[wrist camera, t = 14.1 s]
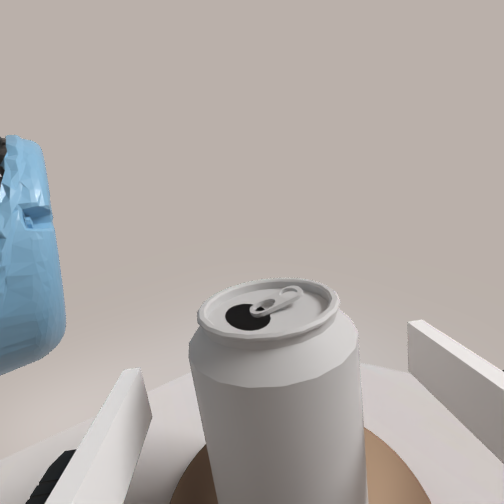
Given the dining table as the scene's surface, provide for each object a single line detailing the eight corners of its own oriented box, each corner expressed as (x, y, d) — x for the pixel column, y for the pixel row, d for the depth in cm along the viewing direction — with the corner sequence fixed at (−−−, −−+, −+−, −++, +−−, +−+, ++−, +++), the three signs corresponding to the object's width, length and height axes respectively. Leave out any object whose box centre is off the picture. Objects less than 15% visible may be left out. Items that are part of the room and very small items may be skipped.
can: (210, 476, 17) (172, 292, 15) (314, 427, 20) (297, 262, 17) (253, 657, 10) (196, 369, 8) (407, 548, 13) (401, 301, 10)
